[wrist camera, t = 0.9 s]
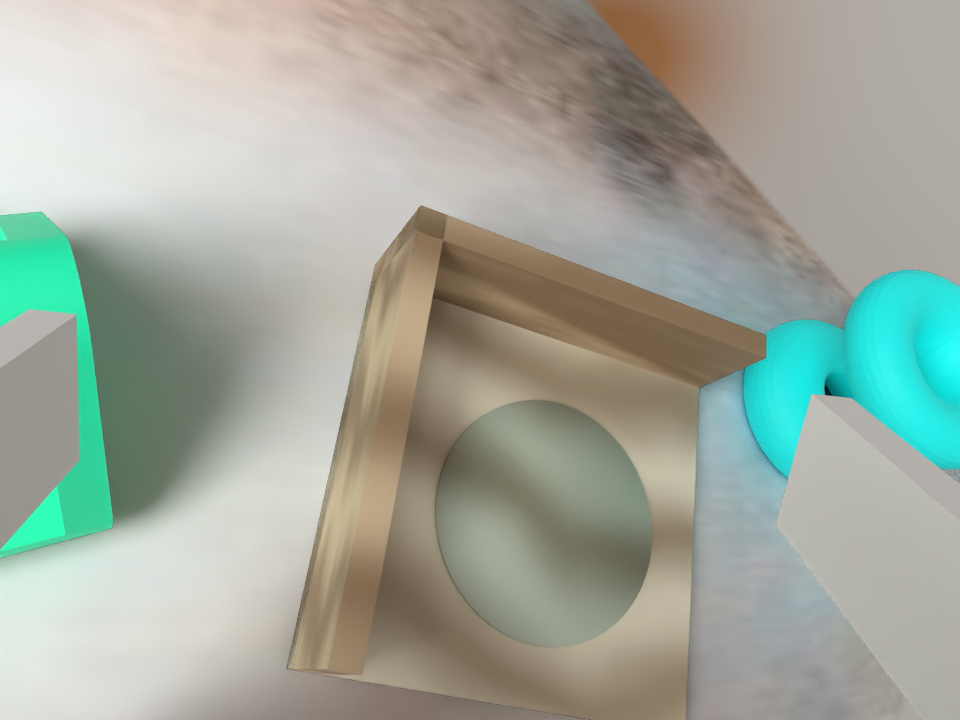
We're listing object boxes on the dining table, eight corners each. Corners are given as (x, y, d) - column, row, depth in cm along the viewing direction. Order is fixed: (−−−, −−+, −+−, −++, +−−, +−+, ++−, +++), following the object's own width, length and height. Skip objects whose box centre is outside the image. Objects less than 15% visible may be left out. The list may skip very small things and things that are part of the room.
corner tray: (375, 264, 40) (420, 205, 35) (688, 372, 46) (766, 335, 41) (286, 668, 33) (327, 669, 27) (671, 733, 39) (764, 743, 33)
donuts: (1032, 495, 39) (872, 406, 36) (859, 526, 48) (719, 455, 45) (1031, 316, 43) (888, 225, 41) (872, 374, 52) (746, 301, 49)
